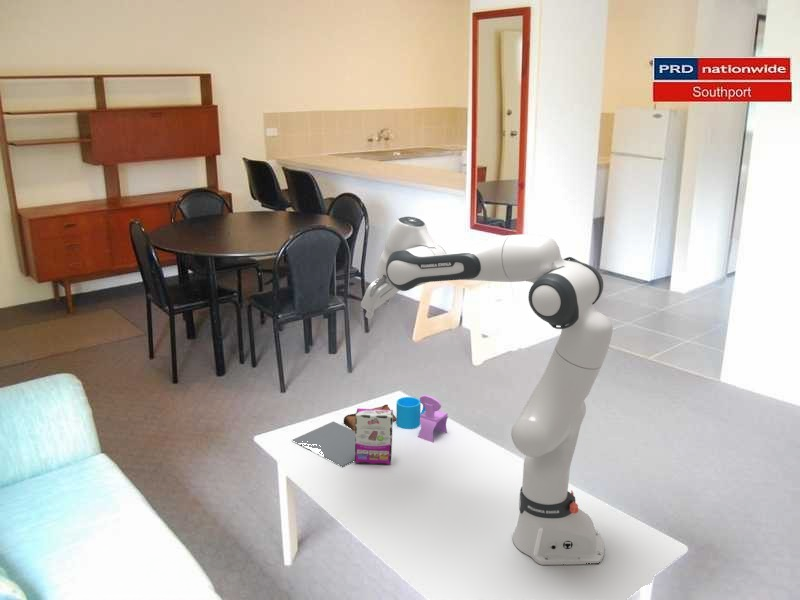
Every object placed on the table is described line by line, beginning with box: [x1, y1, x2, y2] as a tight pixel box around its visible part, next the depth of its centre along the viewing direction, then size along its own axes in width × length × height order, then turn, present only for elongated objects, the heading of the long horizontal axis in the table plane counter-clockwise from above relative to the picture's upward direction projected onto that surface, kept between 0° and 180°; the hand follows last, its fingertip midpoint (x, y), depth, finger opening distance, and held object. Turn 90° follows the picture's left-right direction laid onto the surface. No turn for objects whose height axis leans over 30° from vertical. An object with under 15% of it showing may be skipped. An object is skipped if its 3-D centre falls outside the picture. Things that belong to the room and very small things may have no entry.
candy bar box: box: [354, 408, 394, 465], centre depth 213 cm, size 11×5×16 cm, turn 88°
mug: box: [396, 396, 425, 430], centre depth 240 cm, size 12×8×8 cm
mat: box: [292, 421, 355, 468], centre depth 226 cm, size 24×18×1 cm
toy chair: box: [417, 394, 449, 443], centre depth 230 cm, size 8×9×15 cm
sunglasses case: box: [343, 404, 397, 431], centre depth 241 cm, size 18×7×7 cm, turn 124°
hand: (376, 310), depth 196 cm, fingers open, 8 cm apart
